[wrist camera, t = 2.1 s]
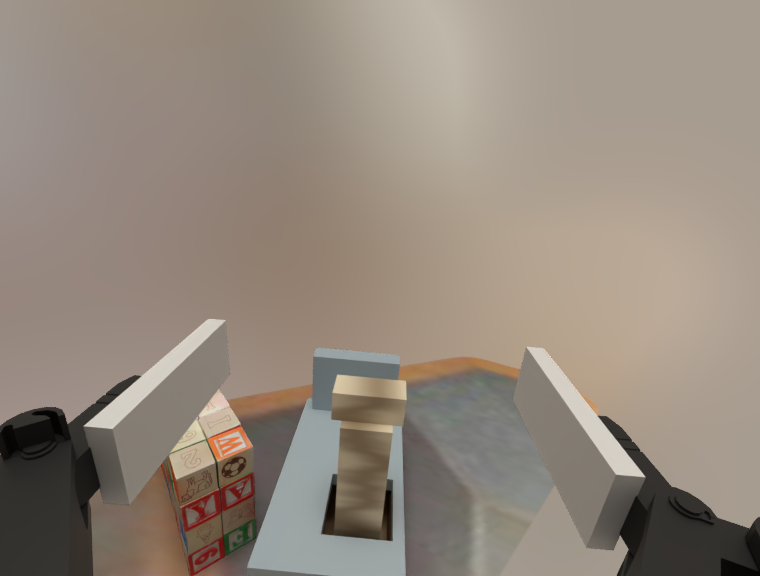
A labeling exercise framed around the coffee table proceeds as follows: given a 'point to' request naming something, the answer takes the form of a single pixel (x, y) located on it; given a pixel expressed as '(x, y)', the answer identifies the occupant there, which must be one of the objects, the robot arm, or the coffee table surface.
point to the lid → (328, 488)
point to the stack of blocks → (212, 486)
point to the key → (364, 450)
